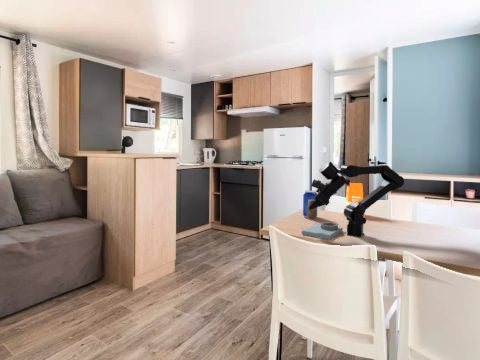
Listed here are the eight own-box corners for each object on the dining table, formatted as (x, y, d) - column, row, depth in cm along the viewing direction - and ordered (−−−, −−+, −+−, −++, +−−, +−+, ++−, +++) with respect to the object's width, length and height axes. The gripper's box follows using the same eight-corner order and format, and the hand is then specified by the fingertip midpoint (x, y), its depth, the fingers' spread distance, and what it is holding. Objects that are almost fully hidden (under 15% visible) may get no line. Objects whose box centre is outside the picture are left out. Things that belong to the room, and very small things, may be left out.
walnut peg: (317, 218, 147) (318, 200, 146) (314, 219, 144) (314, 201, 143) (310, 217, 149) (310, 199, 148) (306, 218, 146) (306, 200, 145)
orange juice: (362, 216, 186) (363, 183, 184) (347, 215, 188) (348, 183, 186) (360, 213, 193) (361, 182, 191) (345, 213, 195) (346, 182, 193)
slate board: (342, 231, 152) (342, 223, 152) (329, 239, 139) (329, 231, 138) (316, 227, 161) (316, 219, 160) (301, 234, 147) (301, 226, 147)
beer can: (301, 218, 182) (301, 191, 181) (305, 215, 190) (305, 190, 188) (315, 219, 179) (315, 192, 177) (318, 216, 186) (319, 190, 184)
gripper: (320, 172, 152) (298, 193, 156) (322, 175, 134) (296, 199, 138) (336, 188, 151) (313, 209, 155) (340, 193, 133) (314, 217, 137)
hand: (309, 208), depth 146 cm, fingers closed on walnut peg, 4 cm apart
